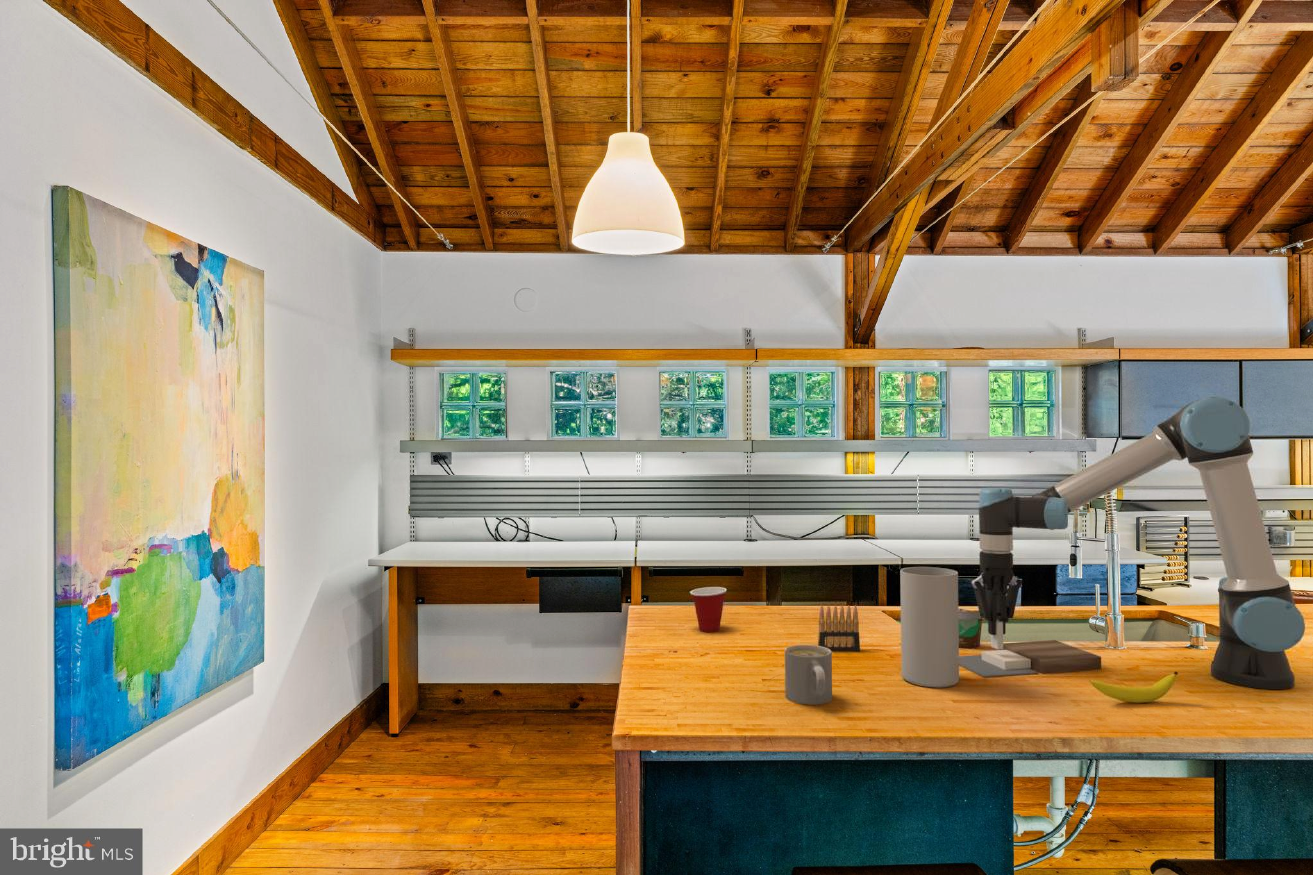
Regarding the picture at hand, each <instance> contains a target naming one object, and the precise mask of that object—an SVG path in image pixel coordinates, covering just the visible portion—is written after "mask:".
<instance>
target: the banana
mask: <svg viewBox="0 0 1313 875" xmlns="http://www.w3.org/2000/svg"><path fill="white" fill-rule="evenodd" d="M1178 674H1179V671H1174V673H1172V674H1169V675H1167V676H1165V677H1163V678H1161V679H1160V680H1159V681H1157V682H1156V683H1153V684H1151V685H1149V686H1141V687H1140V686H1136V687H1134V686H1122V685H1115V684H1112V683H1106V682H1103V681H1098V680H1088V681H1089V683H1090V684H1091V685H1092V687H1093V688H1094V689H1096V690H1097V691H1098V692H1100V693H1101V694H1103V695H1104V696H1106V697H1109V698H1111V699H1114V700H1118V701H1123V702H1127V703H1132V704H1144V703H1150V702H1155V701H1157V700H1159V699H1161V698H1162V697H1164V696H1166V694H1167V693H1168V692H1169V691H1170V690H1171V688H1172V686H1173V684H1174V683H1175V680H1176V676H1177V675H1178Z"/></svg>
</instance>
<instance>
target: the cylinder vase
mask: <svg viewBox="0 0 1313 875" xmlns="http://www.w3.org/2000/svg"><path fill="white" fill-rule="evenodd" d="M899 573H900V574H899V575H900V576H899V577H900V584H899V585H900V646H901V647H900V648H901V649H900V651H901V652H900V656H901V658H900V659H901V660H900V662H901V666H900V667H901V668H900V669H901V676H902V678H903V679H904V680H905V681H906V682H908V683H910V684H913V685H915V686H920V687H926V688H938V689H939V688H941V689H942V688H948V687H953V686H955V685H957V684H958V683H959V681H960V666H959V656H960V648H959V625H958V609H959V573H958V571H956V570H954V569H949V568H942V567H933V566H931V567H930V566H913V567H912V566H911V567H904V568H901V569H900V572H899Z"/></svg>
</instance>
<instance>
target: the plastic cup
mask: <svg viewBox="0 0 1313 875" xmlns="http://www.w3.org/2000/svg"><path fill="white" fill-rule="evenodd" d="M726 592H727V588H725V587H722V586H707V587H701V588H700V587H699V588H695V589H693V590H691V591H689V593H690V595H691V596H692V601H693V602H694V608H695V614H696V618H697V619H696V620H697V624H698V628H699V631H700V632H703V633H715V632H716V633H717V632H719V630H720V628H721V622H722V618H723V617H722V615H723V610H724V602H725V597H726Z"/></svg>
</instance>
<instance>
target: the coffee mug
mask: <svg viewBox="0 0 1313 875" xmlns="http://www.w3.org/2000/svg"><path fill="white" fill-rule="evenodd" d="M784 685H785V686H784V690H785V691H784V692H785V693H784V695H785V698H786V700H788V701H790V702H792V703H796V704H800V705H801V704H802V705H808V706H809V705H810V706H811V705H812V706H815V705H824V704H827V703H829V702H831V701H832V700H833V652H831V650H830V649H828V648H825V647H822V646H818V645H816V644H796V645H790V646H787V647H785V649H784Z"/></svg>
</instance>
